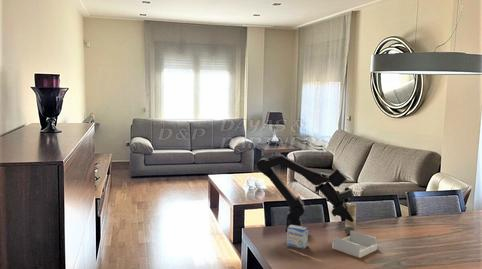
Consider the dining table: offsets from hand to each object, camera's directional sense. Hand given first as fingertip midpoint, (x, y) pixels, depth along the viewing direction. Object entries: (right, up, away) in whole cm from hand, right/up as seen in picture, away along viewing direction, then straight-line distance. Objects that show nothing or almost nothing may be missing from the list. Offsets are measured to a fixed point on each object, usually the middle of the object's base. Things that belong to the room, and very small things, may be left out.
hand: (353, 220), depth 189 cm
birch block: (-1, -6, +1) cm, 6 cm away
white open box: (-4, -9, -16) cm, 19 cm away
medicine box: (-28, -9, -13) cm, 32 cm away
